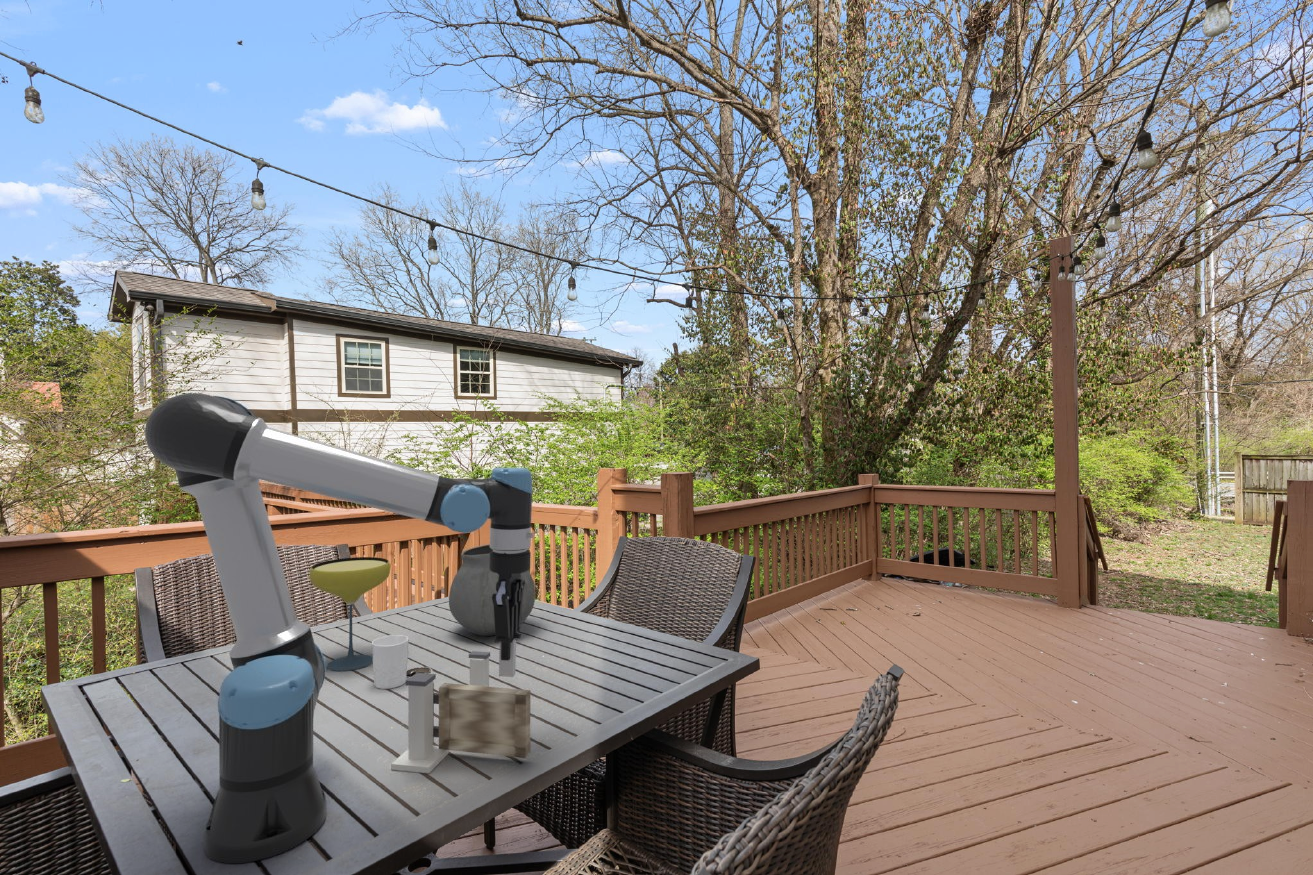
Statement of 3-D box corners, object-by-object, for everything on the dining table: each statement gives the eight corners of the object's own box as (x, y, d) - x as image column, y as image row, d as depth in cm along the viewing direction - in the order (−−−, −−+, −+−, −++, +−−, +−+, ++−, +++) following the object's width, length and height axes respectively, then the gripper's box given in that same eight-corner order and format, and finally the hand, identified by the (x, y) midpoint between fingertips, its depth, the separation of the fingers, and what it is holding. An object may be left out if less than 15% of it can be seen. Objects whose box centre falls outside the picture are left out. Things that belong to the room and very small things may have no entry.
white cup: (395, 691, 140) (395, 647, 140) (364, 688, 142) (364, 644, 142) (415, 678, 148) (415, 635, 148) (385, 675, 149) (385, 633, 149)
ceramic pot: (449, 623, 190) (449, 541, 190) (530, 617, 197) (530, 537, 197) (448, 650, 167) (448, 556, 167) (540, 641, 174) (540, 551, 174)
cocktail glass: (315, 655, 162) (315, 559, 162) (391, 647, 169) (391, 554, 169) (303, 681, 146) (303, 574, 145) (388, 671, 152) (388, 568, 152)
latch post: (486, 710, 130) (486, 659, 130) (459, 708, 131) (459, 657, 131) (498, 698, 136) (498, 649, 136) (472, 696, 137) (472, 647, 137)
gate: (421, 746, 112) (421, 685, 112) (428, 741, 114) (428, 681, 114) (525, 758, 109) (525, 694, 109) (530, 752, 111) (530, 690, 110)
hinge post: (429, 773, 106) (429, 686, 106) (391, 769, 107) (391, 683, 107) (449, 752, 113) (449, 671, 113) (413, 749, 114) (413, 668, 114)
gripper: (519, 556, 111) (516, 689, 111) (538, 544, 124) (535, 663, 124) (478, 555, 112) (475, 687, 112) (501, 543, 125) (498, 661, 125)
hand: (507, 674), depth 118 cm, fingers closed
